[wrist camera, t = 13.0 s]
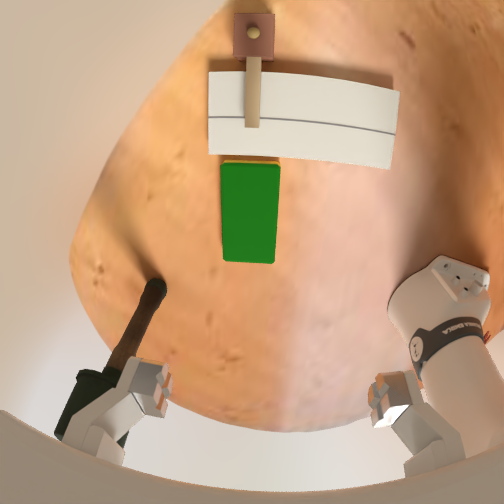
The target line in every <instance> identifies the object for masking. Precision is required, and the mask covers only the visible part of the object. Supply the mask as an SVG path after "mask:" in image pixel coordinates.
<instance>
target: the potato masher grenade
mask: <svg viewBox="0 0 504 504" xmlns="http://www.w3.org/2000/svg"><path fill="white" fill-rule="evenodd" d="M166 293H167V287H166V285H165V283H164V282H163V281H162V280H160V279H152V280H150V281H148V283H147V284H146V285H145V289H144V292H143V294H142V295H141V298H140V302H139V305H138V307H137V309H136V311H135V313H134V315H133V317H132V318H131V320H130V322H129V324H128V326H127V328H126V330H125V332H124V334H123V336H122V338H121V340H120V342H119V344H118V345H117V346H116V347H115V348H114V350H113V352H112V354H111V356H110V358H109V361H108V362H107V364H106V367H104V369H103V371H102V373H101V372H98V371H95V370H89V369H84V370H80V371H79V373H78V374H77V377H76V379H77V383H76V385H75V387H74V389H73V391H72V393H71V395H70V398H69V399H68V402H67V404H66V406H65V408H64V410H63V413H62V415H61V417H60V419H59V422H58V424H57V426H56V429H55V431H54V435H55V436H56V437H57V439H59V441H62V439H63V437H64V434H65V432H66V429H67V427H68V425H69V422H70V420H71V418H72V416H73V415H74V414H76V413H77V412H79V411H80V410H81V409H83V408H84V407H86V406H87V405H89V404H90V403H92V402H93V401H94V400H96V399H97V398H99V397H100V396H102V395H103V394H104V393H106V392H107V391H109V390H110V389H111V388H116V386H117V384H118V382H119V379H120V377H121V374H122V372H123V370H124V368H125V365H126V363H127V361H128V359H129V358H130V357H131V356H134V357H136V352H137V350H138V347H139V345H140V343H141V341H142V338H143V336H144V334H145V332H146V329H147V327H148V325H149V323H150V321H151V318H152V316H153V314H154V312H155V311H156V310H157V309H158V308H159V306H160V304H161V302H162V300H163V299H164V297H165V296H166ZM128 433H129V431H127V432H126V433H125V434H124V435H123V436H122V437H121V438H120V439H119V440H118V441H117V442H116V443H117V444H118V445H119V446H120V447H121V448H122V449H123V448H124V445H125V441H126V438H127V435H128Z"/></svg>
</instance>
